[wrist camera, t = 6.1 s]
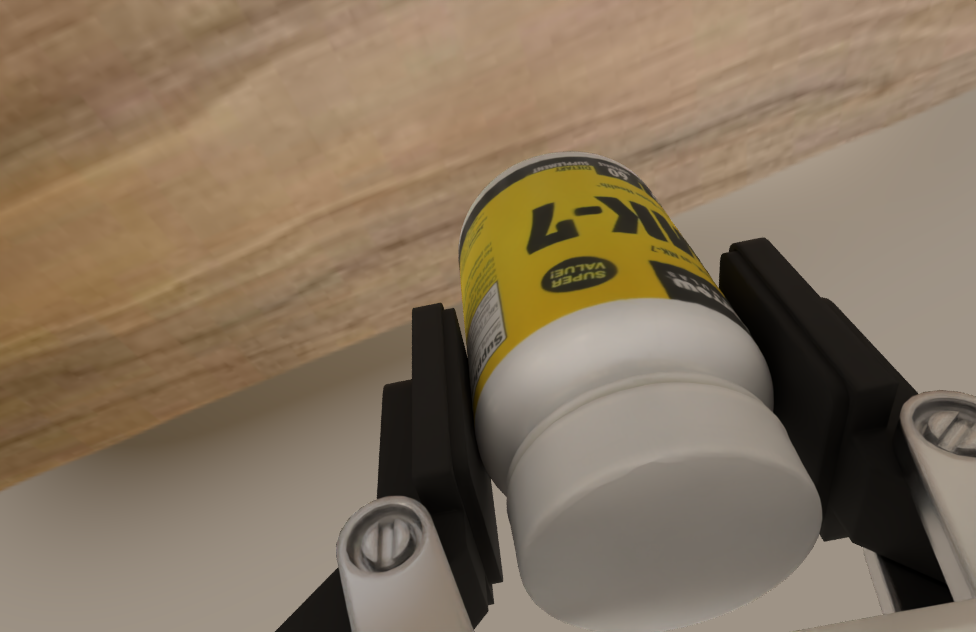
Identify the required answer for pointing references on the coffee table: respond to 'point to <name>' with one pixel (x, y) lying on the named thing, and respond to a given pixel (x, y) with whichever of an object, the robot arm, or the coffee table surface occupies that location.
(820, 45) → the coffee table surface
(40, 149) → the coffee table surface
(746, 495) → the supplement bottle
